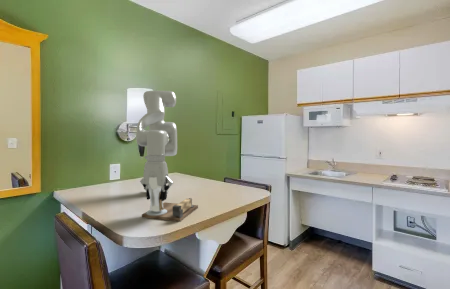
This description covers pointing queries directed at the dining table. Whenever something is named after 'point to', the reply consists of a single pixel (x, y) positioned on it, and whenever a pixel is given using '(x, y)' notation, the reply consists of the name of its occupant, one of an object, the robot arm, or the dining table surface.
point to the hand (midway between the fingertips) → (156, 199)
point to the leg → (181, 207)
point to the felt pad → (156, 212)
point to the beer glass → (155, 195)
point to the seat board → (170, 212)
